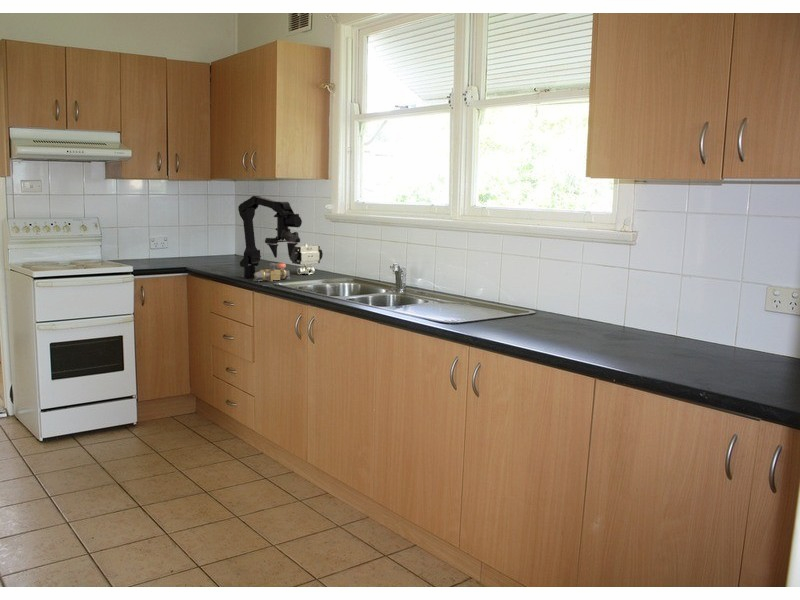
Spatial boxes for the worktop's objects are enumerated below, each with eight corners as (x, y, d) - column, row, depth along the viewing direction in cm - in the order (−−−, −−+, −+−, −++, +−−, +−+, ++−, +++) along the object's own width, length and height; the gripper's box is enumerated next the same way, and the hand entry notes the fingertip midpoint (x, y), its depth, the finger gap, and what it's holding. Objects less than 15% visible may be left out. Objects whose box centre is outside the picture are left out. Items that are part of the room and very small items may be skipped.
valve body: (259, 282, 368) (259, 270, 368) (252, 281, 373) (252, 269, 372) (291, 279, 383) (291, 268, 382) (284, 278, 387) (284, 267, 386)
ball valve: (297, 276, 395) (297, 244, 392) (288, 275, 401) (288, 243, 398) (324, 274, 406) (324, 243, 404) (315, 273, 413) (315, 242, 410)
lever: (267, 269, 376) (267, 262, 376) (274, 268, 379) (274, 261, 379) (280, 271, 368) (280, 264, 368) (287, 271, 371) (287, 263, 371)
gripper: (278, 227, 356) (278, 259, 358) (307, 226, 370) (307, 257, 372) (264, 226, 363) (264, 257, 366) (293, 225, 377) (293, 255, 379)
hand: (282, 257), depth 371 cm, fingers open, 9 cm apart
